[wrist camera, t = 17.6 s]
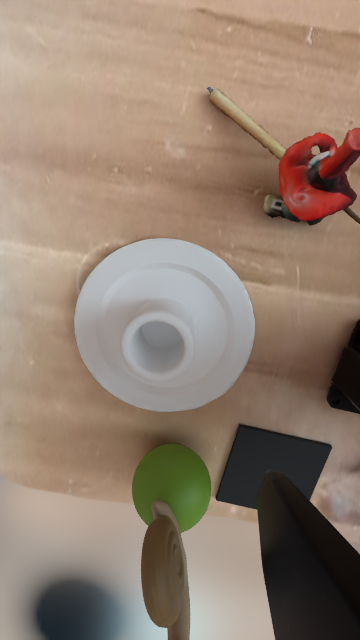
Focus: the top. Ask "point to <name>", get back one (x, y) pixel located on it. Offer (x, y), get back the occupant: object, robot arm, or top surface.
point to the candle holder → (164, 325)
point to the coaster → (269, 464)
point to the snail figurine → (169, 530)
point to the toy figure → (303, 169)
